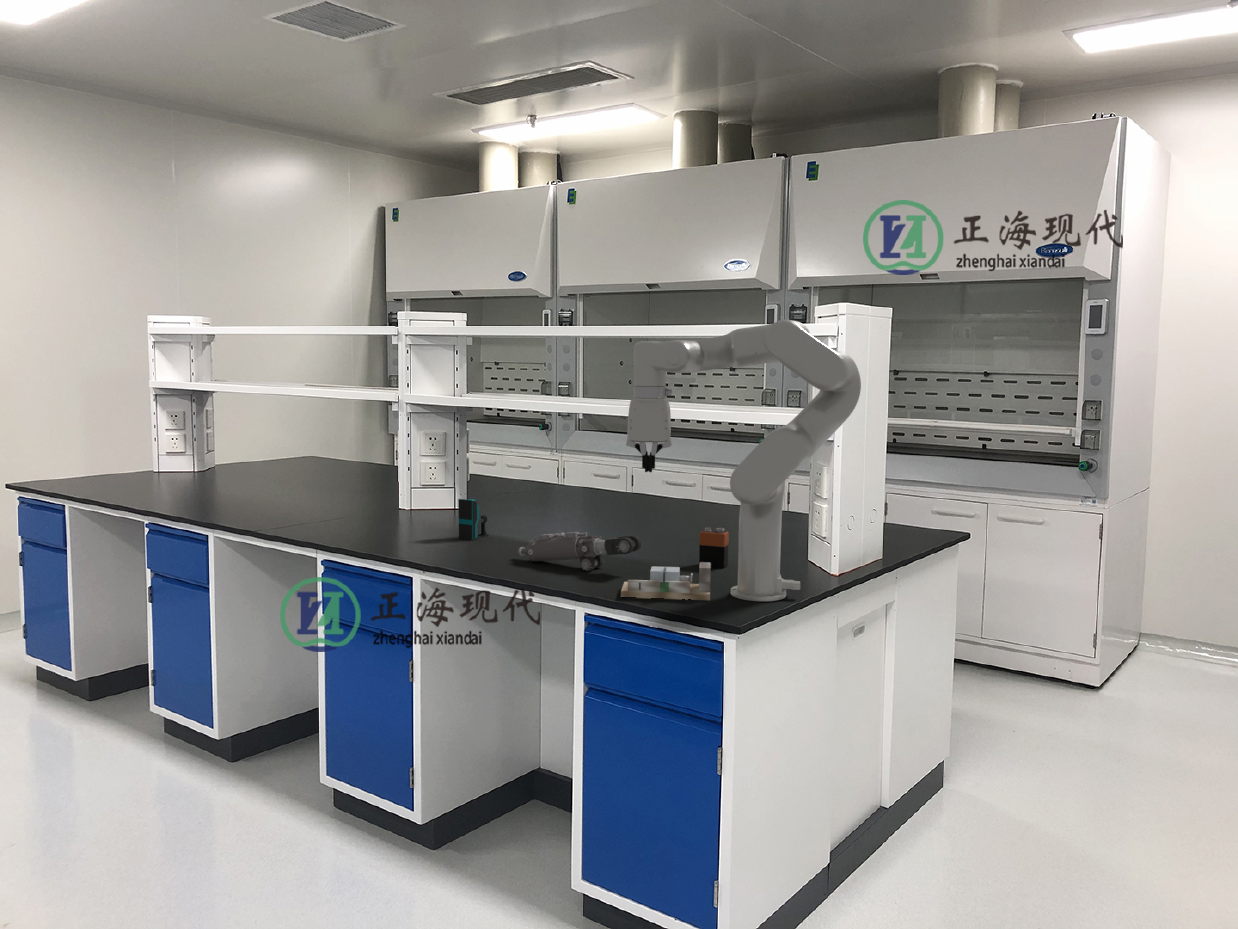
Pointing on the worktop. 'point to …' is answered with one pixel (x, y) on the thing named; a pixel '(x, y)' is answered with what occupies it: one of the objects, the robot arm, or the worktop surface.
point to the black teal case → (470, 520)
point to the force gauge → (668, 574)
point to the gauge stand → (671, 587)
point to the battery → (714, 547)
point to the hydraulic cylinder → (579, 548)
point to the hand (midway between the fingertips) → (648, 471)
